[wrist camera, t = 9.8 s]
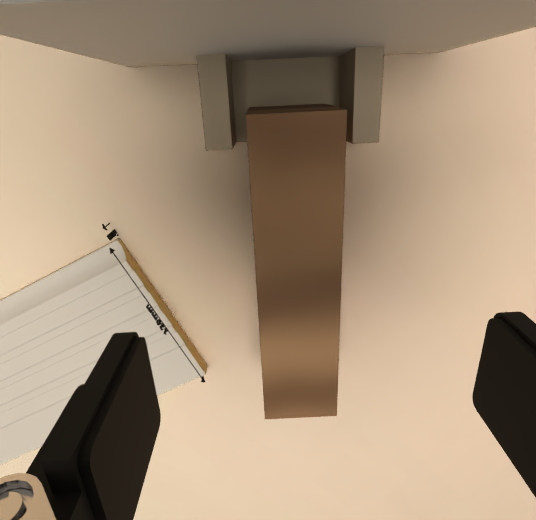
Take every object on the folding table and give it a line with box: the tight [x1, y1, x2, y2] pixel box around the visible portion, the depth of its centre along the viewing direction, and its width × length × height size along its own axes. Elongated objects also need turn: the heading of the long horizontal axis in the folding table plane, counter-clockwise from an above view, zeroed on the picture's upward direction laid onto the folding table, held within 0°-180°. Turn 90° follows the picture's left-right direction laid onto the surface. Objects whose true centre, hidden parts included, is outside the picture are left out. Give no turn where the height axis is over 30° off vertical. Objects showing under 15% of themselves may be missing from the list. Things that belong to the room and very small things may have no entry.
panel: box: [0, 0, 536, 151], centre depth 14 cm, size 5×16×14 cm, turn 93°
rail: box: [246, 104, 347, 419], centre depth 21 cm, size 16×4×6 cm, turn 3°
